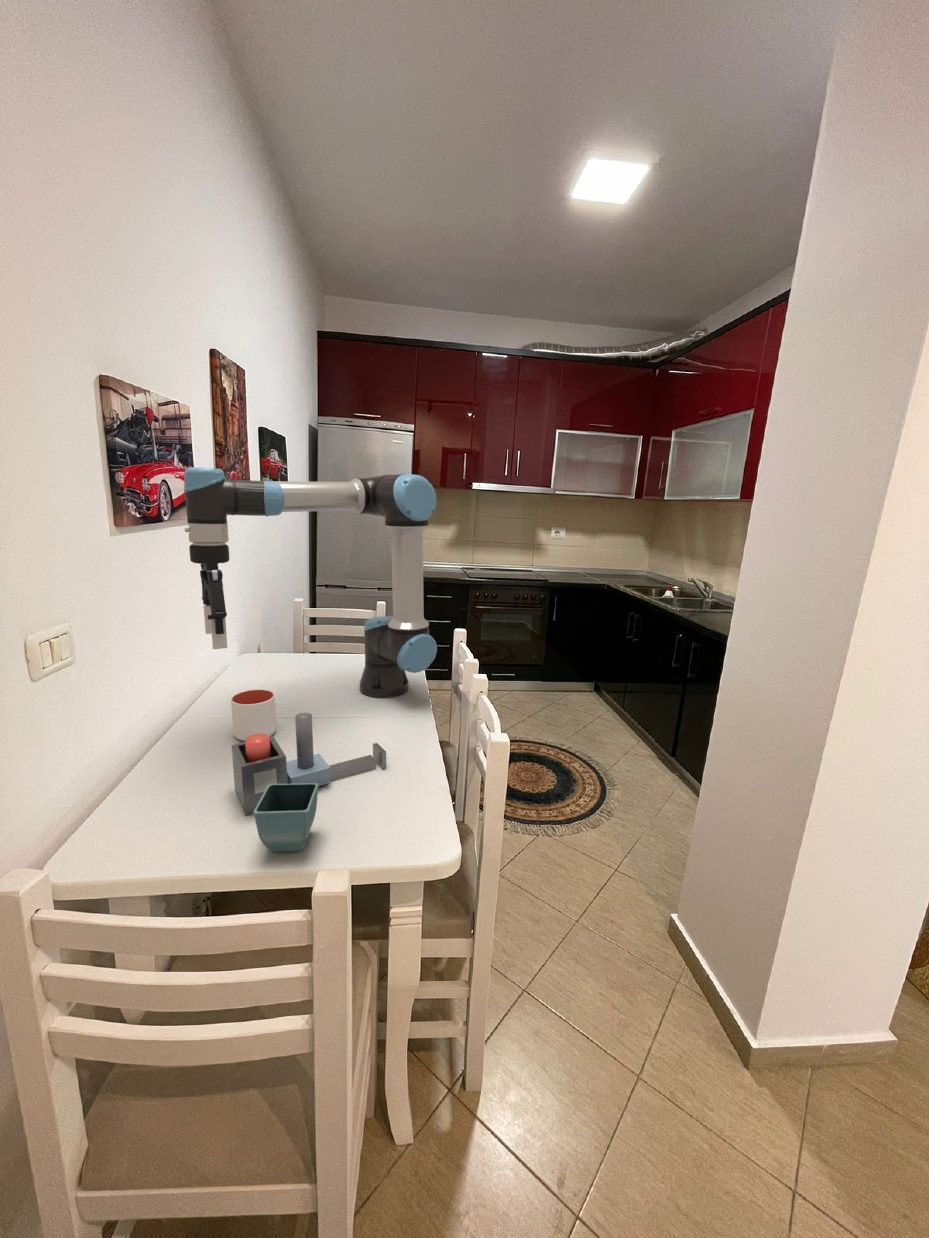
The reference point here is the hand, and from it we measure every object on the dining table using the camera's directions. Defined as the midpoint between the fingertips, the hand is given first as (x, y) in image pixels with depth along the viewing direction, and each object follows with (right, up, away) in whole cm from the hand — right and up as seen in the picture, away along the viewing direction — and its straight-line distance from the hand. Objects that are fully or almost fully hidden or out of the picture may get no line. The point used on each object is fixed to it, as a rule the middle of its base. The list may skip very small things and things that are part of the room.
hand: (216, 640), depth 113 cm
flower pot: (+25, -34, -24) cm, 49 cm away
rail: (+26, -29, -4) cm, 39 cm away
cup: (+3, -24, +15) cm, 29 cm away
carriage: (+22, -30, -6) cm, 37 cm away
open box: (+14, -31, -11) cm, 36 cm away
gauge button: (+15, -23, -13) cm, 30 cm away
